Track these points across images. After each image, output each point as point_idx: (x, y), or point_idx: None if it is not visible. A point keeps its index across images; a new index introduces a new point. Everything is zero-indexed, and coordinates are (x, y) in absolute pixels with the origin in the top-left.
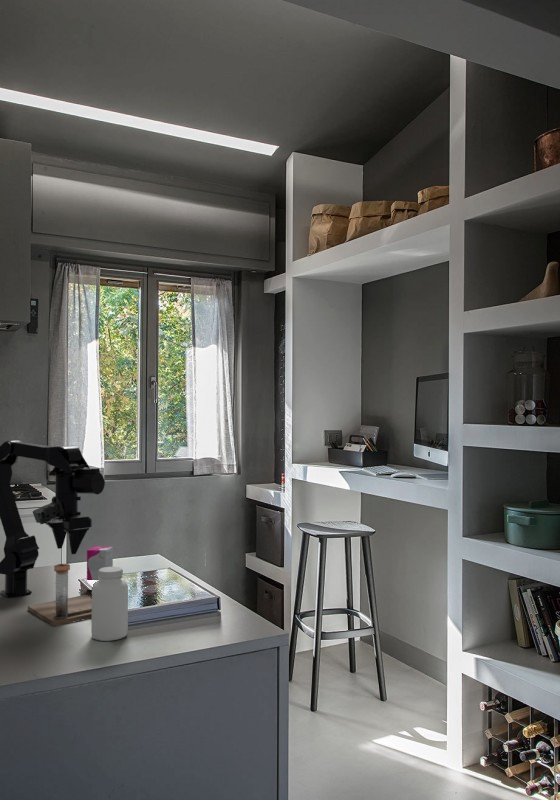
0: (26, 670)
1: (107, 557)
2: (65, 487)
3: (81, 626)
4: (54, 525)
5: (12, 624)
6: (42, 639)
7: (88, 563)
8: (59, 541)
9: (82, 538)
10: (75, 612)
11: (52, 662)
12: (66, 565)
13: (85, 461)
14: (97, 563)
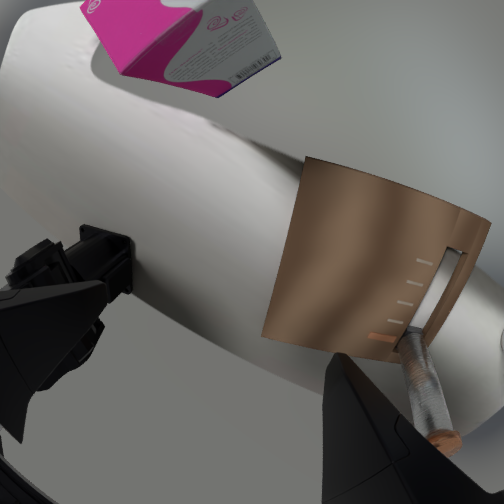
0: (465, 425)
1: None
2: None
3: (464, 328)
4: (10, 414)
5: None
6: None
7: (173, 78)
8: (78, 322)
9: (415, 436)
10: (418, 305)
11: (482, 406)
12: (451, 448)
13: None
14: (217, 46)
